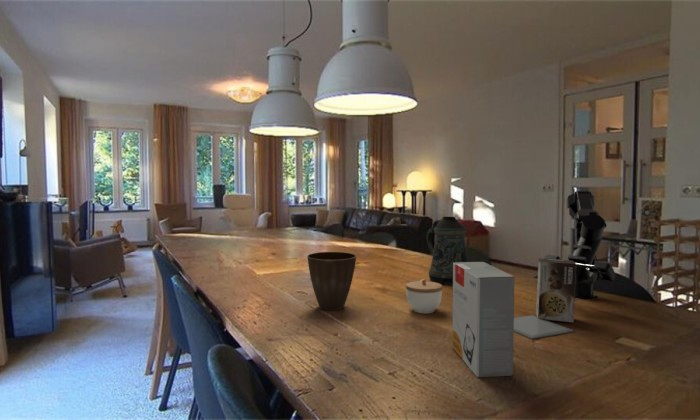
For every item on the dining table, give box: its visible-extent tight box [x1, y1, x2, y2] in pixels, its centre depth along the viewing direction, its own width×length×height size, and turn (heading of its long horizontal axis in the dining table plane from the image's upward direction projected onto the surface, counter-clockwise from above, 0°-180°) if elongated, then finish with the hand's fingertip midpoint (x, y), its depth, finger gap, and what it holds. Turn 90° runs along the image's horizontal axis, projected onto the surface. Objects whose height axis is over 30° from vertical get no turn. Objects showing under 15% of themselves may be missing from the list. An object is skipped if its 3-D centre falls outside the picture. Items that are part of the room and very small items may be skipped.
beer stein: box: [426, 216, 469, 286], centre depth 170 cm, size 16×19×25 cm
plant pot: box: [306, 251, 357, 311], centre depth 133 cm, size 15×15×16 cm
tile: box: [514, 314, 575, 340], centre depth 114 cm, size 14×14×1 cm
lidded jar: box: [405, 278, 443, 314], centre depth 129 cm, size 11×11×9 cm
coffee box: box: [535, 257, 576, 323], centre depth 121 cm, size 9×6×16 cm
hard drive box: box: [451, 261, 515, 378], centre depth 91 cm, size 16×8×20 cm, turn 5°
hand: (567, 290), depth 125 cm, fingers closed
